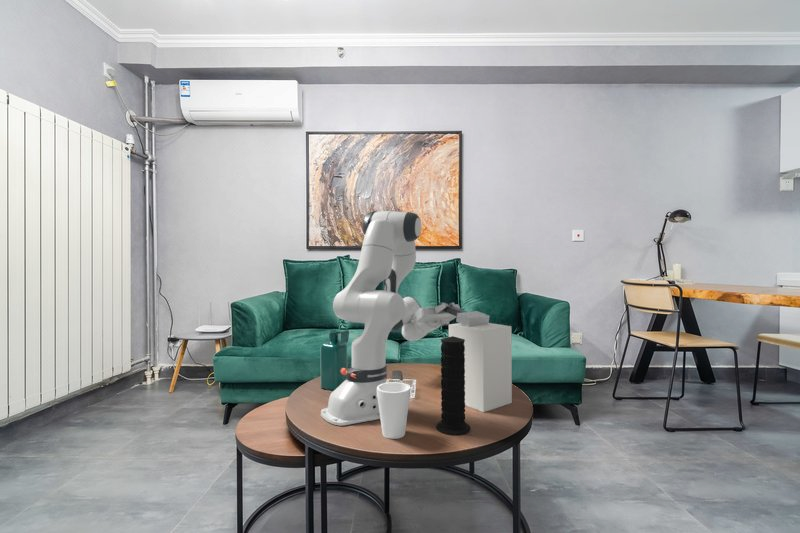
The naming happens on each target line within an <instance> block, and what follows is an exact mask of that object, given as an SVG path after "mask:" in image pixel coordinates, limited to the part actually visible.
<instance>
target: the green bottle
mask: <svg viewBox="0 0 800 533" xmlns="http://www.w3.org/2000/svg"><path fill="white" fill-rule="evenodd" d="M326 334H328V341H326V342H323V343H322V344H321V345H320V349H319V350H320V351H319V352H320V355H319V356H320V388H321V389H323V388H324V389H325V390H328V391H329V390H330V391H334V390H335V389H336V388H337V387H339V386H340V385H341V384H342V383H343V382H344V381H345V380H346V379H347V375H343V374H342V373H341V372H340V371H341V370H342V368H345V369H347V370H348V345H347V344H348V342H349V336H350V330H349V329H346V330H345V329H344V330H342V331H341V330H339V329H329V330H327V331H326ZM339 336H340V340H339ZM324 389H323V390H324Z"/></svg>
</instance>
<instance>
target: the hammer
mask: <svg viewBox="0 0 800 533" xmlns="http://www.w3.org/2000/svg"><path fill="white" fill-rule="evenodd" d="M443 303H445V302H439V303H438V306H439V305H442V304H443ZM449 304H450V303H447V306H448V307H447V308H446V309H443V310H442V311H445V312H447V313H449V314H452V315H454V316H457V317H456V318H455V320H456V323H461V324H463V325H466V326H468V327H470V326H477V325H484V324H489V323H490V315H488V314H486V313H483V312H481V311H478V310H475V311H466V310H464V309H461V308H460V309H459V308H457V307H454V306H451V305H449Z"/></svg>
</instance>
